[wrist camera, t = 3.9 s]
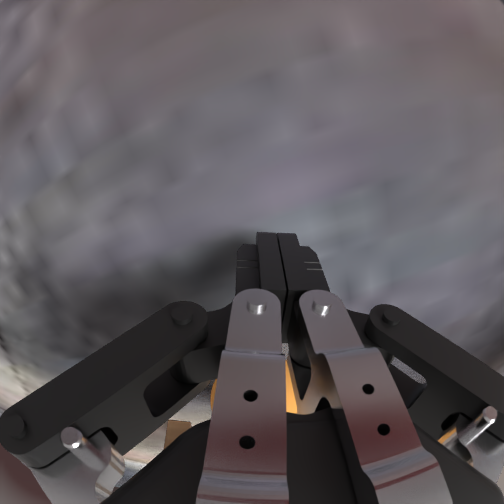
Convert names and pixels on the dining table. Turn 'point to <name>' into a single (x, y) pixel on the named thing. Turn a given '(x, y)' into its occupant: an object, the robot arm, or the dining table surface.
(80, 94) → the dining table surface
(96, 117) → the dining table surface
